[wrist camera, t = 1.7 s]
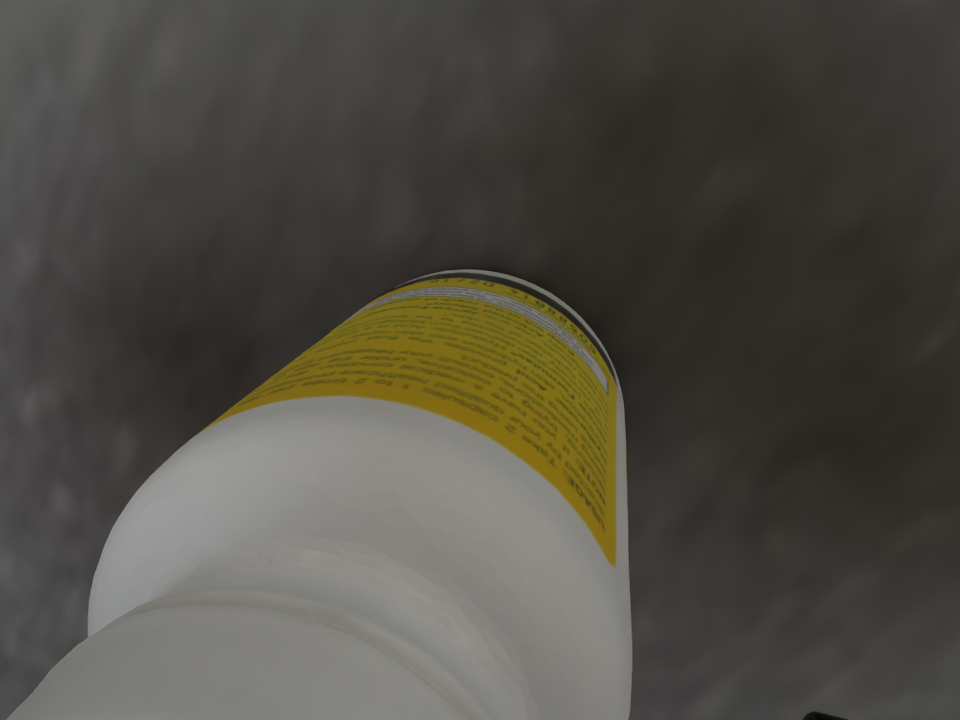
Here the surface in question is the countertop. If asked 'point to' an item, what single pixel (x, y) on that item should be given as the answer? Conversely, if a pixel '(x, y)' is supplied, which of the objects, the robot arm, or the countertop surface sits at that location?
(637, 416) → the countertop surface
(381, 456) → the supplement bottle
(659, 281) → the countertop surface
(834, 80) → the countertop surface
